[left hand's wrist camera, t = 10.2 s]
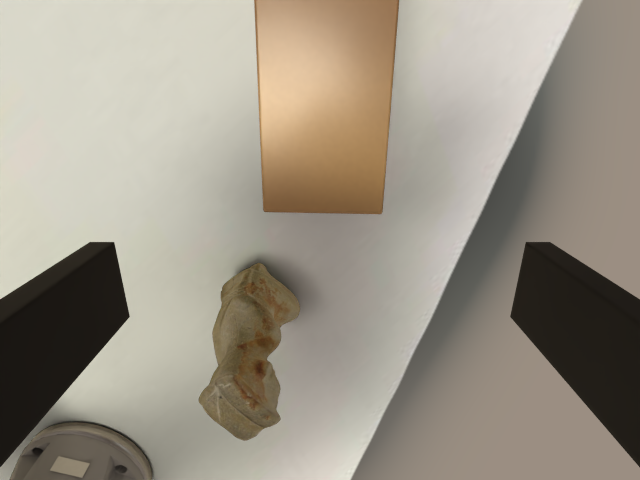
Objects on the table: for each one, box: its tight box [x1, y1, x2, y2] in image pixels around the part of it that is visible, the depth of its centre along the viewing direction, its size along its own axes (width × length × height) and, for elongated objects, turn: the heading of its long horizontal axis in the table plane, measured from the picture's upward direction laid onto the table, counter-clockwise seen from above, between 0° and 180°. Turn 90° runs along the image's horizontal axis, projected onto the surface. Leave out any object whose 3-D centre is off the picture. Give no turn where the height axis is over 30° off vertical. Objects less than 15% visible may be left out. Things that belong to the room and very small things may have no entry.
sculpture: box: [199, 263, 300, 440], centre depth 30 cm, size 6×7×15 cm
